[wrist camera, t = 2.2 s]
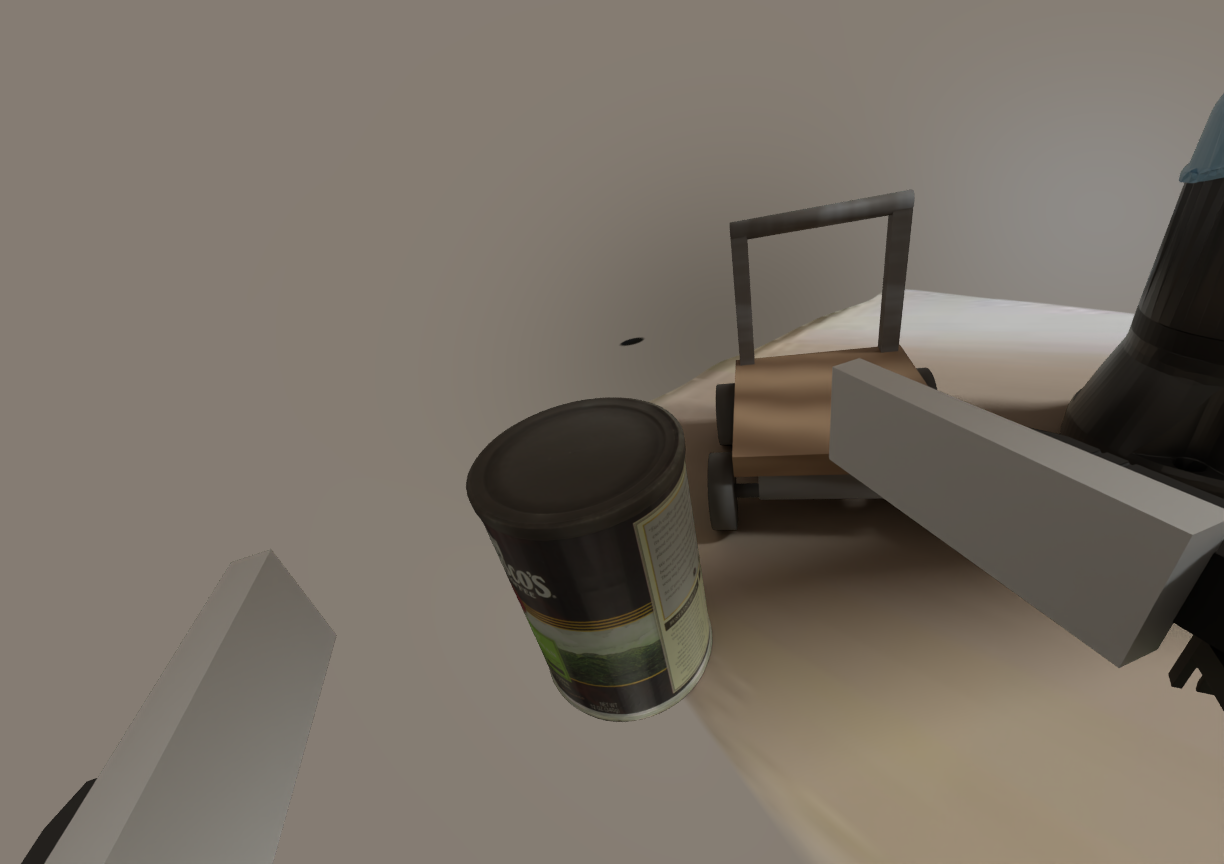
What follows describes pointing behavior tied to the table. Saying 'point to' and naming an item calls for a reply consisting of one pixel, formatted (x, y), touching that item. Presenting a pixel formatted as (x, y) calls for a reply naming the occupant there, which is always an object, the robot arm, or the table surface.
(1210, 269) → the robot arm
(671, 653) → the coffee can
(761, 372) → the trolley
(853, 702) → the table surface
